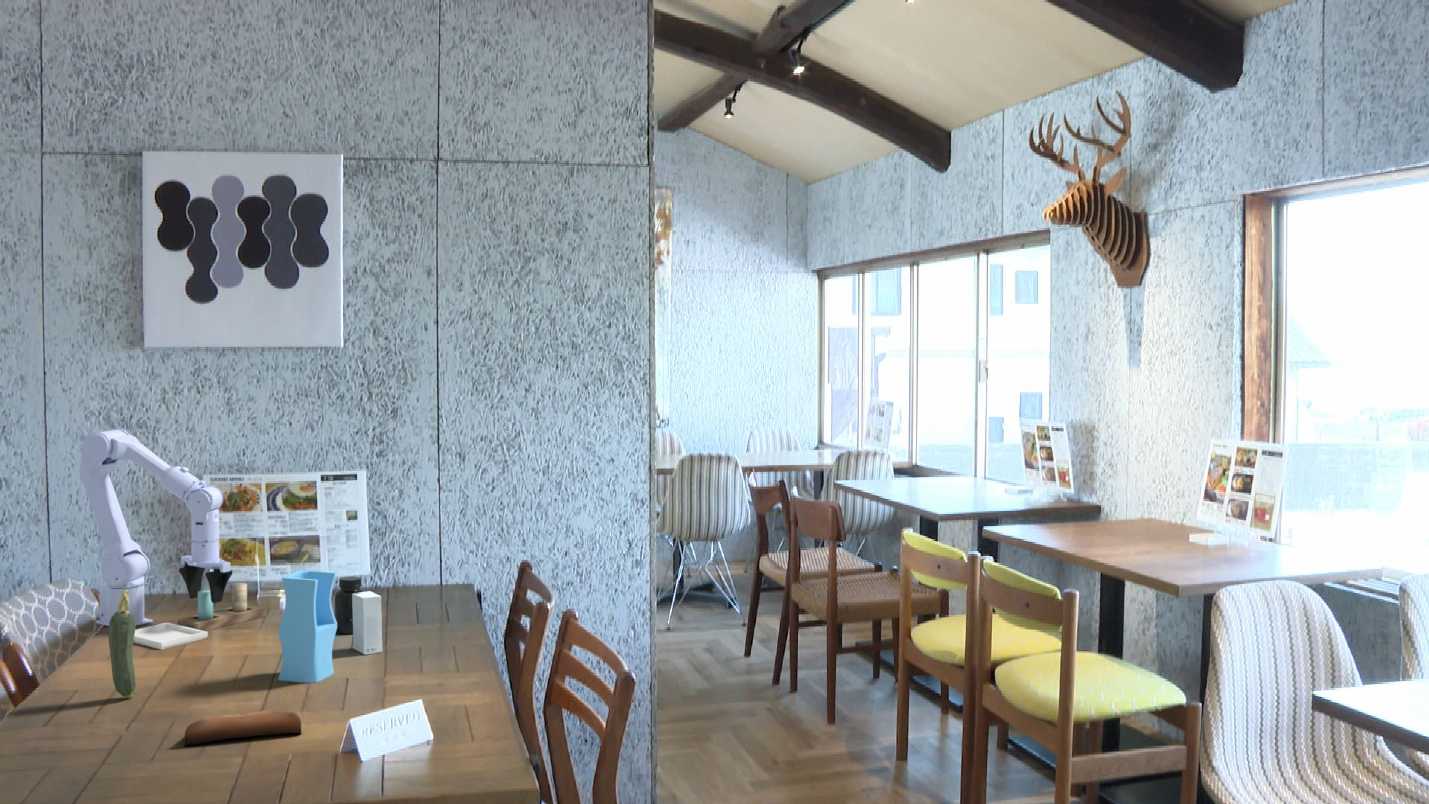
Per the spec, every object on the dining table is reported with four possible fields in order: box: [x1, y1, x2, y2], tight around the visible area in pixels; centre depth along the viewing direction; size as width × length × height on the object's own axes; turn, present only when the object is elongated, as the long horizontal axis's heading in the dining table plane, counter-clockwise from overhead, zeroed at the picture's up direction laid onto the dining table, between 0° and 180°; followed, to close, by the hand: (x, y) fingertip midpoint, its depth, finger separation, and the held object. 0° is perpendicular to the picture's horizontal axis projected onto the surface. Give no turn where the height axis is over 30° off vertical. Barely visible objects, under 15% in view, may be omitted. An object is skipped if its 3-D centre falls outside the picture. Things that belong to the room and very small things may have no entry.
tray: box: [133, 621, 209, 651], centre depth 246 cm, size 14×11×1 cm
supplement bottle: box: [333, 576, 365, 635], centre depth 256 cm, size 7×7×12 cm
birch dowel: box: [231, 582, 248, 613], centre depth 264 cm, size 3×3×8 cm
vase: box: [277, 569, 338, 684], centre depth 222 cm, size 8×8×20 cm
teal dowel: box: [197, 589, 214, 621], centre depth 257 cm, size 3×3×8 cm
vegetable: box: [108, 589, 137, 700], centre depth 205 cm, size 4×4×20 cm
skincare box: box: [352, 590, 383, 655], centre depth 240 cm, size 6×4×12 cm
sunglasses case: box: [183, 709, 302, 747], centre depth 190 cm, size 18×7×7 cm
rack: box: [177, 603, 267, 632], centre depth 261 cm, size 18×7×2 cm, turn 150°
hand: (205, 599), depth 256 cm, fingers open, 7 cm apart
